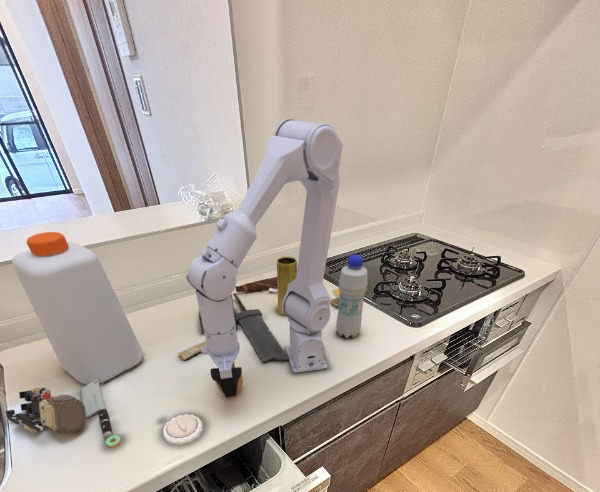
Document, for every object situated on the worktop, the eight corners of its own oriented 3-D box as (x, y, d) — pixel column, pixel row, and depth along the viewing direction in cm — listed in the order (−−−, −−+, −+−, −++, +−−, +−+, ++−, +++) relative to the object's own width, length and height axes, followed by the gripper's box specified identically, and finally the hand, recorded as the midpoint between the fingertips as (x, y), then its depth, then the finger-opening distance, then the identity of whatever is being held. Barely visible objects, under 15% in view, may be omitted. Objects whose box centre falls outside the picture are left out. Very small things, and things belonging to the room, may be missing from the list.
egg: (237, 403, 71) (232, 377, 67) (214, 398, 73) (208, 371, 68) (248, 387, 75) (245, 361, 70) (226, 382, 76) (221, 356, 72)
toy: (-4, 386, 65) (37, 403, 58) (44, 380, 71) (86, 395, 64) (1, 422, 66) (41, 443, 59) (47, 413, 73) (88, 431, 66)
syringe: (284, 295, 107) (285, 294, 108) (285, 289, 106) (286, 287, 107) (252, 289, 106) (253, 287, 108) (253, 282, 105) (254, 281, 107)
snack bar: (183, 359, 81) (176, 351, 82) (184, 363, 82) (177, 355, 83) (218, 342, 86) (211, 334, 87) (217, 346, 87) (210, 338, 88)
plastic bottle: (117, 337, 89) (67, 218, 70) (151, 359, 82) (106, 234, 63) (57, 365, 81) (-19, 239, 62) (89, 392, 74) (14, 260, 54)
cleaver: (75, 389, 73) (96, 376, 73) (81, 392, 74) (101, 379, 74) (85, 447, 63) (109, 432, 64) (91, 450, 64) (114, 435, 65)
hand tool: (312, 278, 115) (312, 267, 113) (316, 280, 113) (316, 269, 111) (235, 293, 108) (233, 281, 106) (237, 296, 105) (235, 284, 103)
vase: (298, 315, 97) (298, 265, 87) (276, 315, 97) (273, 265, 87) (299, 305, 102) (298, 255, 92) (278, 305, 102) (275, 255, 92)
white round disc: (196, 411, 70) (194, 404, 68) (208, 435, 65) (206, 428, 64) (159, 424, 67) (156, 417, 66) (169, 450, 63) (166, 443, 61)
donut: (166, 430, 67) (166, 427, 67) (108, 449, 63) (106, 446, 62) (163, 422, 69) (162, 419, 68) (105, 440, 64) (104, 437, 64)
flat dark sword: (262, 369, 80) (261, 363, 79) (223, 299, 103) (221, 293, 102) (291, 361, 82) (291, 354, 81) (246, 294, 105) (245, 288, 104)
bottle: (359, 341, 88) (370, 262, 74) (333, 338, 89) (339, 260, 75) (361, 327, 92) (372, 250, 79) (336, 325, 93) (342, 248, 80)
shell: (345, 317, 99) (357, 307, 100) (344, 306, 96) (357, 297, 96) (327, 302, 103) (339, 293, 104) (326, 291, 99) (338, 282, 100)
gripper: (197, 309, 67) (209, 365, 77) (196, 351, 57) (210, 410, 66) (233, 305, 68) (241, 361, 78) (239, 346, 58) (248, 405, 67)
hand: (229, 383), depth 72 cm, fingers open, 7 cm apart
